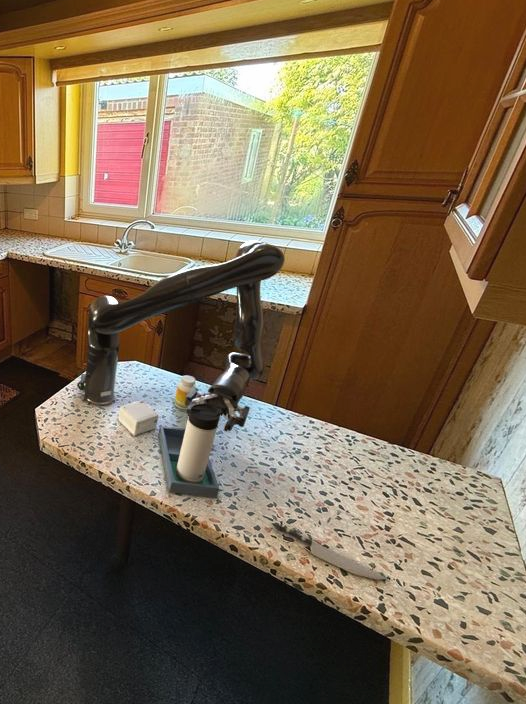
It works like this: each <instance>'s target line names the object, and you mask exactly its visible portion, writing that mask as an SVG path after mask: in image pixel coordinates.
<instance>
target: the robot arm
mask: <svg viewBox="0 0 526 704" xmlns="http://www.w3.org/2000/svg"><path fill="white" fill-rule="evenodd" d="M285 260H286V258H285V254H284V252H283V251H282V250H281V249H280V248H279V247H277V246H276V245H274V244H270V243H267V242H264V241H261V240H249V241H246V242H245V243H243V244H242V245H241V246H240V247H239V248H238V250H237V251H236V254H235V258H234V259H232V260H228V261H226V262H223V263H218V264H212V265H206V266H205V265H204V266H199V267H198V266H197V267H193V268H188V269H185V270H182V271H179V272H176V273H173V274H171V275H167V276H165V277H164V278H162V279H160V280H158V281H157V282H155V283H154V284H153V285H152V286H150V287H149V288H148V289H147V290H145V291H144V292H142V293H141V294H140V295H137V296H136V297H133V298H130V299H128V300H124V301H122V302H121V301H120V302H119V301H118V300H117V299H116V298H115V297H113V296H110V295H102V296H98V297H97V298H96V299H94V300H93V301H92V303H91V304H90V307H89V310H88V321H87V322H88V324H87V352H86V353H87V355H86V366H85V373H80V380H79V381H78V382H77V383H76V387H77V388H78V390H79V391H83V401H84V402H88V403H90V404H92V405H95V406H107V405H110V404H111V403H112V402H113V401H114V397H115V387H116V379H117V378H116V377H117V370H118V361H119V352H120V335H119V334H120V332H122V331H124V330H126V329H129V328H131V327H133V326H135V325H137V324H139V323H141V322H144V321H146V320H149V319H152V318H154V317H157V316H160V315H163V314H165V313H168V312H170V311H174V310H177V309H180V308H183V307H186V306H188V305H191V304H195V303H196V302H199V301H203V300H205V299H207V298H209V297H213V296H215V295H218V294H220V293H223V292H226V291H228V290H231V289H236V306H235V307H236V309H235V321H234V328H233V329H234V330H233V335H232V336H233V337H232V343H233V345H234V346H235V347H236V348H237V349H240V350H243V351H244V352H246V353H241V352H236V351H235V352H233V351H232V352H230V353H228V354H227V355H225V358H224V359H223V371H222V372H221V374H220V375H219V376H217V378H216V379H215V381H214V382H213V383H212V384H211V386H210V387H209V389H208V390H207V391H206V392H201V391H199V388H198V387H196V388H194V389H193V390H192V391H191V392H190V393H189V394H188V395H187V396H186V399H185V405H186V406H188V407H187V409H186V413H185V414H187V417H189V414H190V410H191V408H192V406H194V405H196V404H209V405H212V406H214V407H216V408H217V409H221V411H222V413H223V415H222V417H223V418H224V419H225V420H226V422H225V424H224V428H223V431H224V432H225V433H226V432H228V431H229V432H231V431H232V430H233V428H234V426H235V425H238V427H240V428H244V427H245V424H246V422H247V419H248V416H249V413H250V409H251V407H250V406H248V405H245V406H244V407H242V406H239V405H238V404H239V402H240V401H241V399H242V398H243V396H244V394H245V391H246V388H247V386H248V385H249V383H250V381H257V380H259V379H260V378H261V377H262V376H263V374H264V372H265V364H264V358H263V354H262V347H261V346H262V345H261V343H262V335H263V327H264V312H263V307H262V306H263V305H262V300H261V284H262V281H266V280H268V279H270V278H272V277H274V276H275V275H277V274H278V273H279V272H280V271H281V270H282V268H283V267H284V264H285ZM236 412H238V414H237V413H236ZM238 415H239V416H238Z"/></svg>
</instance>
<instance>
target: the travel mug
mask: <svg viewBox="0 0 526 704" xmlns="http://www.w3.org/2000/svg"><path fill="white" fill-rule="evenodd" d="M221 417H223V413H222V411H221V409H217V408H216V407H214V406H212V405H209V404H198V403H197V404H196V405H194V406H192V408H191V410H190V414H189V416H187V421H186V426H185V429H186V430H185V434H184V438H183V443H182V447H181V451H180V456H179V460H178V464H177V469H176V474H177V476H178V478H179V479H180V480H181V481H183V482H188V483H197V484H200V483H201V482H202V481H203V478H204V474H205V470H206V467H207V463H208V460H209V459H210V455H211V452H212V449H213V444H214V441H215V437H216V434H217V430H218V427H219V422H220V418H221Z"/></svg>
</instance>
